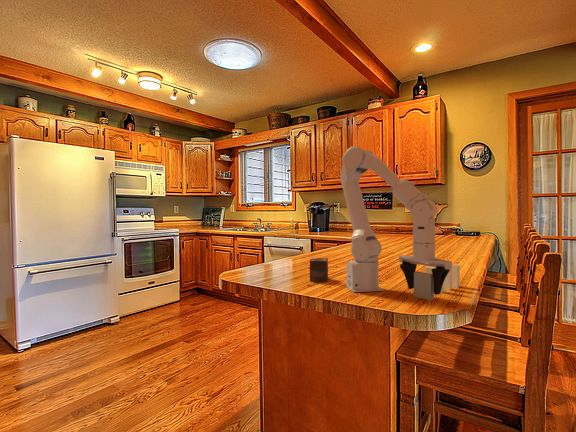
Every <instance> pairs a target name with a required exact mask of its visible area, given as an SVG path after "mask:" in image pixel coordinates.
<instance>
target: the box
mask: <svg viewBox="0 0 576 432" xmlns="http://www.w3.org/2000/svg"><path fill="white" fill-rule="evenodd" d="M328 279H329V259H328V258H326V257H325V258H323V257H321V258H319V257H317V258H316V257H315V258H313V257H312V258H311V259H310V260H309V282H314V281H315V282H316V281H319V282H320V281H321V283H326V282H328ZM319 282H318V283H319Z"/></svg>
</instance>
